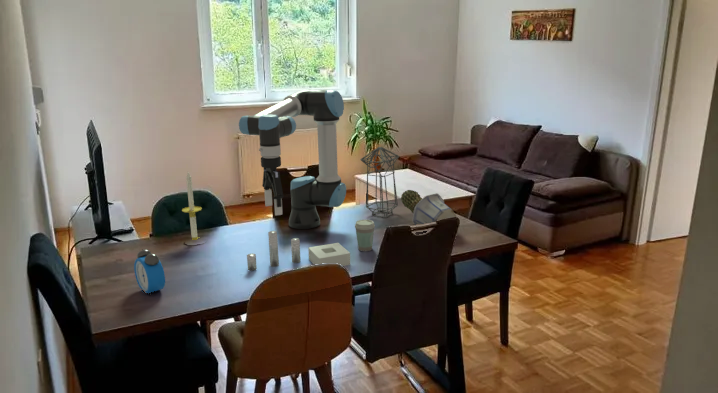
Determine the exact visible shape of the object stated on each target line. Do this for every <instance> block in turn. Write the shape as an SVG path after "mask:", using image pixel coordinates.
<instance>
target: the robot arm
mask: <svg viewBox="0 0 718 393" xmlns="http://www.w3.org/2000/svg"><path fill="white" fill-rule="evenodd" d="M344 104H345V103H344V98H343V96H342V95H341V92H339V91H337V90H335V89H302V90H299V91H296V92H294V93H291V94H289V95H287V96H285V97H284V98H283V100H282V101H280V102H278V103H276V104H274V105H272V106H270V107H268V108H266V109H264V110H262V111H260V112H258V113H256V114H253V115H250V114H249V115H242V116H241V117H240V118H239V121H238V130H239V132H240V133H241V134H243V135H247V136H259V148H258V151H259V152H260V156H261V157H260V167H262V168H263V174H262V185H261V186H262V187H263V190H264V192H263V194H264V204H265V206H264V207H272V206H273V203H274V215H275V216H281V215H283V200H282V199H283V198H284V192H283V187H282V180H281V175H280V174H281V171H278V170H277V168H279V167H281V165H282V158H281V154H282V153H281V138H285V137H288V136H290V135H292V134H293V133H295V132H296V129H297V123H296V120H295V119H294V118H296V117H297V116H313V122H314V123H316V128H317V130H316V131H317V145H318V146H317V148H318V149H317V152H318V173H319V175H318V176H317V177H316V178H315V176H311V175H306V176H300V177H296V178H293V179H292V180H291V181H290V198H291V199H290V200H291V202H290V203H291V212H290V215H289V219H288V226H289V227H290V228H291V229H297V230H309V229H314V228H316V227H319V226H320V225H321V219H320V215H319V213H318V211H317V207H316V206H318V207H319V206H320V207H329V208H339V207H340V206H341V205H342V204H343V203H344V202H345V201H344V200H345V198H346V195H347V186H346V183H344V182H342V177H341V176H340V175H339V174H338V173H339V171H338V170H339V169H338V144H337V143H338V142H337V141H338V140H337V123H338V122H339V121H340V117H342V116H343V114H344V111H345V105H344ZM272 190H273V191H272ZM272 192H273V193H272ZM273 194H274V195H273Z"/></svg>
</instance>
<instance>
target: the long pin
mask: <svg viewBox="0 0 718 393" xmlns="http://www.w3.org/2000/svg"><path fill="white" fill-rule="evenodd" d="M267 235H268V250H269V264H270V265H269V266H270V267H271V268H277V267H279V266H280V263H279V262H280V260H279V244H278V231H277V230H269V231H268V233H267Z"/></svg>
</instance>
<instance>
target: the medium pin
mask: <svg viewBox="0 0 718 393" xmlns="http://www.w3.org/2000/svg"><path fill="white" fill-rule="evenodd" d="M300 242H301V241H300V238H298V237H294V238H291V239H290V244H291V245H290V246H291V263H293V264H300V263H301V248H300V247H301V244H300Z"/></svg>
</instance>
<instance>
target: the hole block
mask: <svg viewBox="0 0 718 393" xmlns="http://www.w3.org/2000/svg"><path fill="white" fill-rule="evenodd" d="M308 260H309V261H310V262H311V263H312V264H313V265H314V264H322V263H338V264H341V265H343V266H342V267H346V266H347V267H348V266H350V265H351V252H350V251H349V250H348V249H346V248H345V247H344V246H343V245H341V244H340V243H339V242H335V243H328V244H324V245H323V244H321V245H316V246H310V247H308Z"/></svg>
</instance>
